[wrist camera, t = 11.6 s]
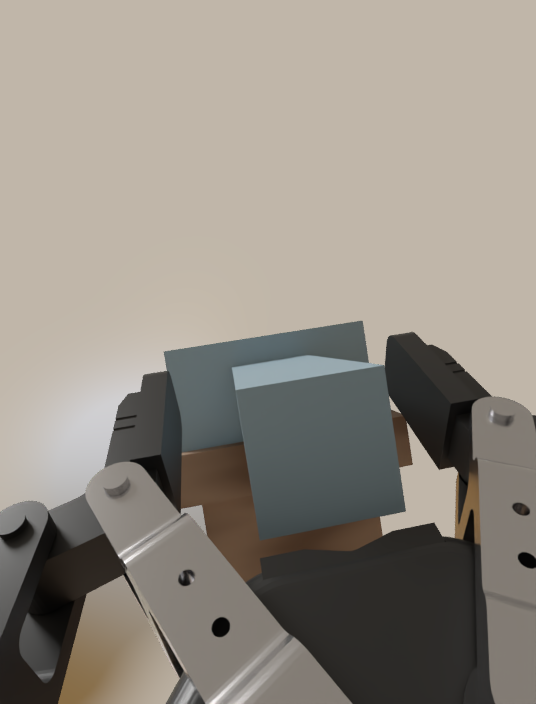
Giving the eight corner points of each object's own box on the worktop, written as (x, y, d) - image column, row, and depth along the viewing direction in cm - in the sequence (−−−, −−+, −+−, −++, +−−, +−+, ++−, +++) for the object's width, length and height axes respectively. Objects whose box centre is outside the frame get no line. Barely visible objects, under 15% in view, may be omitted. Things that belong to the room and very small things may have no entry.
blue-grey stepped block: (334, 396, 24) (323, 327, 24) (520, 488, 9) (494, 297, 9) (194, 420, 23) (182, 349, 23) (130, 566, 8) (95, 359, 8)
